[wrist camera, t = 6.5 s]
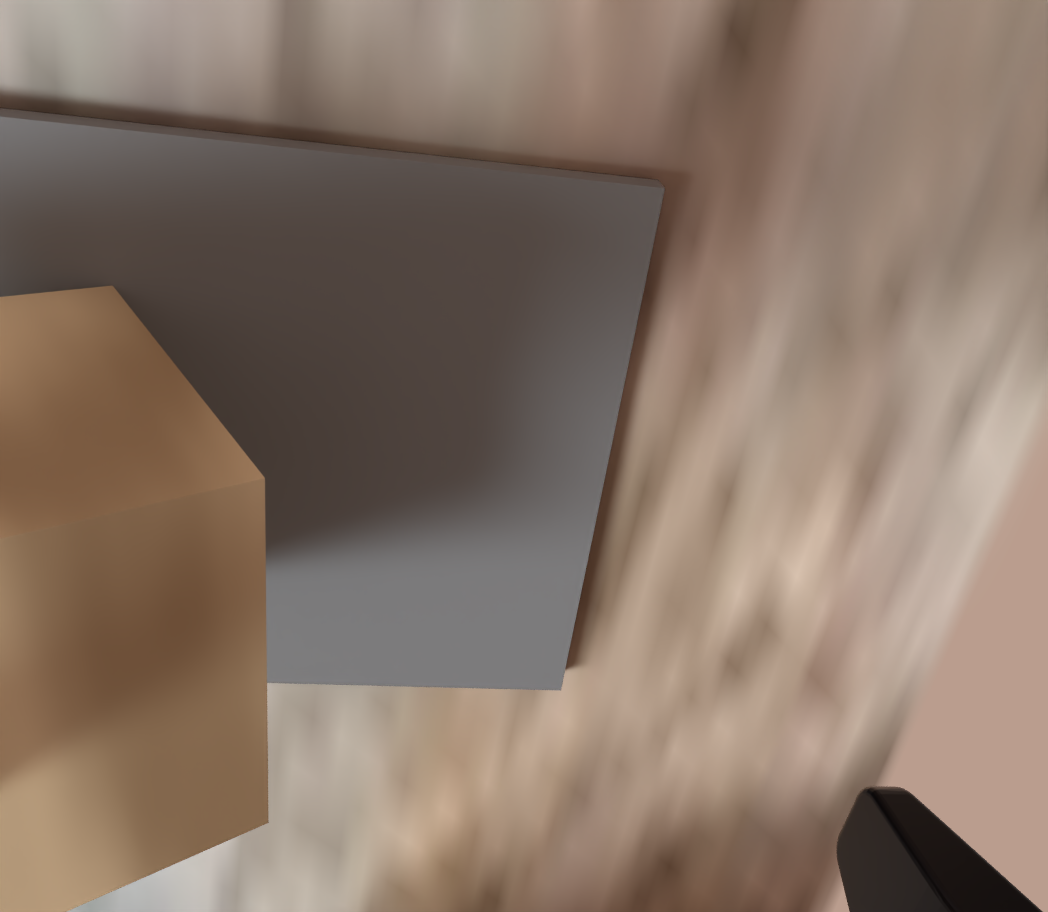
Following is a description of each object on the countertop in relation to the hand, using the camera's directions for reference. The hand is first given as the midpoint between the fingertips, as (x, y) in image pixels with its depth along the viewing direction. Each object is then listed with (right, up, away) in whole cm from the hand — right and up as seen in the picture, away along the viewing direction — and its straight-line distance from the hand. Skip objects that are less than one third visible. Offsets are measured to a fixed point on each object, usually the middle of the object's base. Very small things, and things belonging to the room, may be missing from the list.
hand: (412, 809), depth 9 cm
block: (-3, +2, +3) cm, 5 cm away
